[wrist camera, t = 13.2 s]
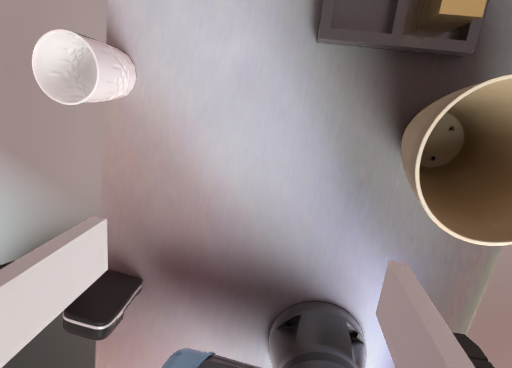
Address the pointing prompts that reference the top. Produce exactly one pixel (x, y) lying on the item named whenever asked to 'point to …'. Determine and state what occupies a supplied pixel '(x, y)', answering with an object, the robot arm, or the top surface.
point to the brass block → (446, 14)
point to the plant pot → (465, 161)
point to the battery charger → (101, 306)
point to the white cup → (81, 68)
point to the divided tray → (391, 28)
